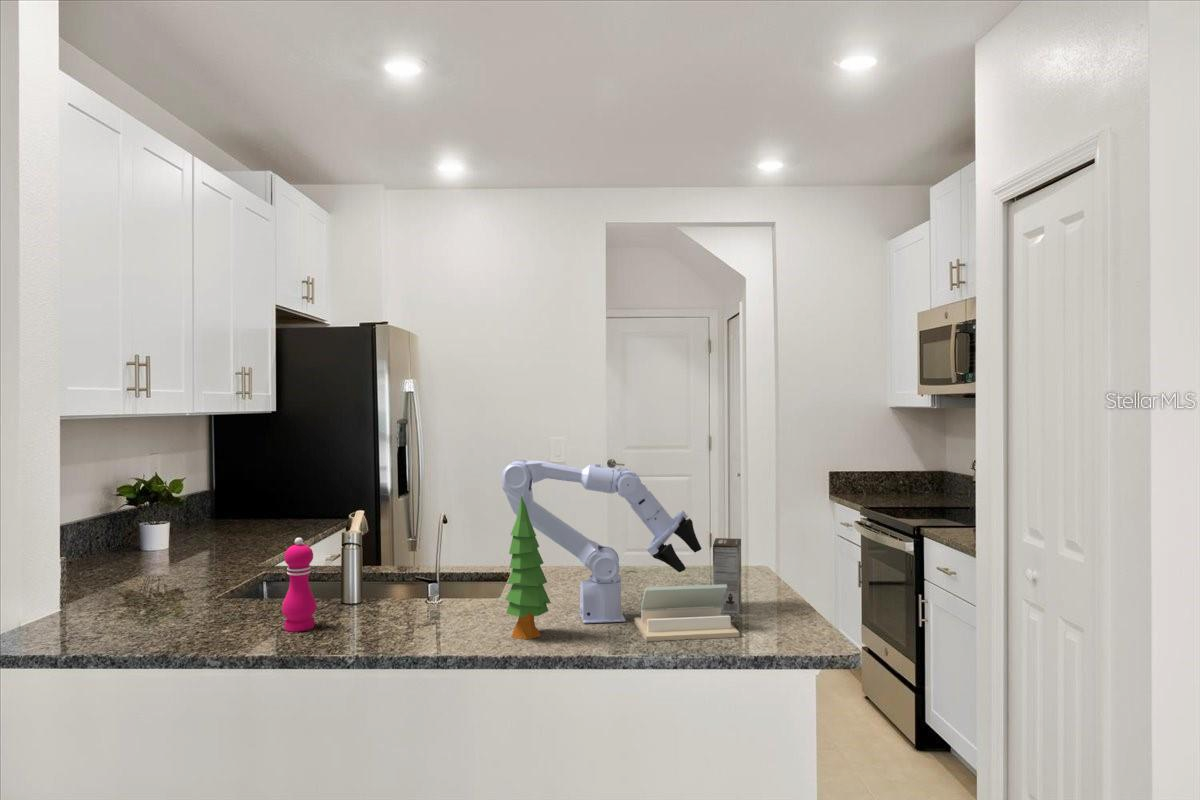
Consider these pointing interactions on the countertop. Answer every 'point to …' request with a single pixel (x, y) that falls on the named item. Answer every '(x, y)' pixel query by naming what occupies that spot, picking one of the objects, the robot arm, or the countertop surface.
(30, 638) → the countertop surface
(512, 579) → the decorative tree
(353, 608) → the countertop surface
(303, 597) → the pepper mill
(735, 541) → the coffee box
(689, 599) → the panel
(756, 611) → the countertop surface
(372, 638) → the countertop surface
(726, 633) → the duct base
